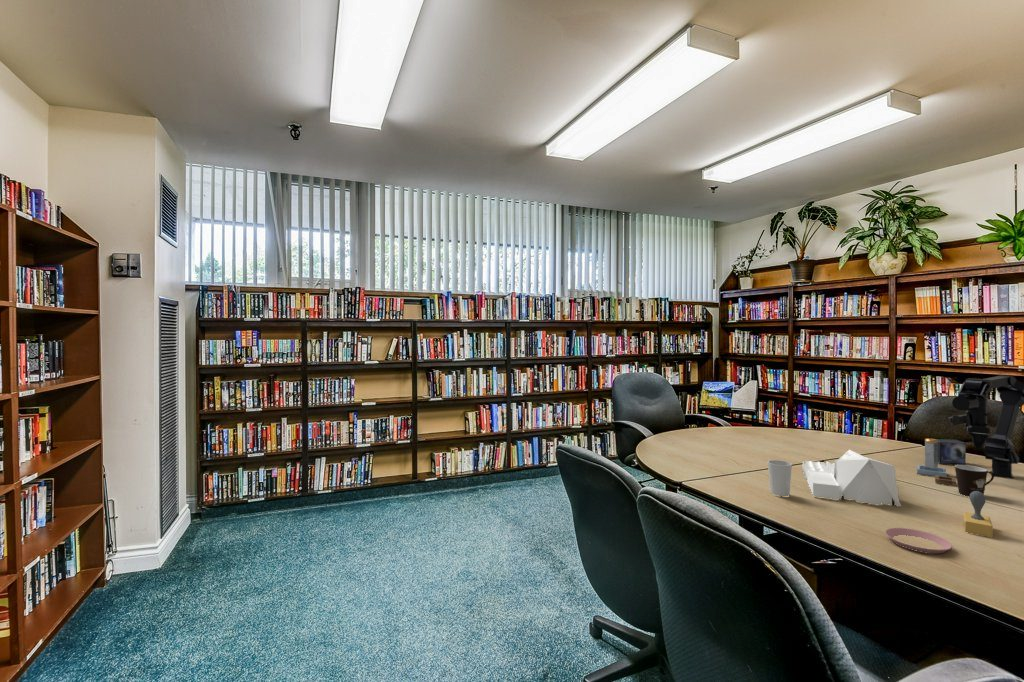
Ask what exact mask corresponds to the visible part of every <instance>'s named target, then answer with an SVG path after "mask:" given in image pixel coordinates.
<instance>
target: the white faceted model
mask: <svg viewBox="0 0 1024 682" xmlns="http://www.w3.org/2000/svg"><path fill="white" fill-rule="evenodd" d="M804 461H805V462H804ZM802 469H803V470H802V471H803V472H802V471H801V472H802V473H803V474H804V475H806V476H804V479H805V478H806V479H805V480H807V481H806V482H808V483H807V485H808V484H809V485H808V487H810V488H809V490H810V489H811V491H810V493H811V492H812V493H811V495H812V494H813V496H816V497H824V498H832V499H840V498H842V499H844V498H845V499H852V500H856V501H857V502H864V503H871V504H878V505H877V506H879V505H883V504H890V505H889V506H891V505H892V506H893V502H894V506H895V505H898V506H897V507H899V506H901V507H902V505H901V502H900V499H899V493H898V491H899V490H898V483H897V475H896V467H895V465H894V464H891V463H887V462H883V461H880V460H877V459H874V458H870V457H866V456H863V455H861V454H859V453H858V452H855V451H853V450H851V449H848V450H847V451H846V452H845V453H843V454H842V455H841V457H839V458H838V459H834V462H828V461H823V462H820V461H819V460H818V461H811V459H810V460H809V461H808V460H802ZM842 495H843V497H844V498H843V497H842ZM813 496H812V497H813ZM892 499H893V500H892ZM840 500H841V499H840ZM881 503H882V504H881ZM871 504H870V505H871Z"/></svg>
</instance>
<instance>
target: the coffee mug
mask: <svg viewBox="0 0 1024 682" xmlns="http://www.w3.org/2000/svg"><path fill="white" fill-rule="evenodd" d="M954 469H955V478H956V484H957V490H958V494H959V493H960V495H961V494H962V495H961V496H964V495H965V497H968V496H969V497H968V498H970V494H971V493H972V492H973V491H979V492H981V493H983V494H984V495H985V490H986V486H987V485H989V484H990V483H991V482H993V480H994V478H995V476H994V475H993V473H992V472H990V470H989V471H988V469H986V468H985V467H981V466H975V465H969V464H967V465H954ZM988 474H990V476H991V477H990V479H989V480H988V481H987V477H988Z"/></svg>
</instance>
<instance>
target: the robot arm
mask: <svg viewBox="0 0 1024 682" xmlns="http://www.w3.org/2000/svg"><path fill="white" fill-rule="evenodd" d="M993 389H996V391H997V392H998V393H999V396H998V397H999V399H1000V401H1001V402H1002V407H1001V410H1000V414H999V416H998V421H997V423H996V428H995V431H994V434H993V435H992V436H990V434H991V428H989V426H988V399H990V396H989V395H988V394H989V393H991V392H992V391H993ZM957 393H958V394H957V396H956V397H954V398H953V399H952V401H951V404H952V406H953V408H954V409H956V410H958V411H965V413H964V414H959V415H958V414H956V415H952V416H949V417H947V419H948V421H949V423H950V425H951V426H953V427H954V426H957V425H963V424H964V427H965V429H966V431H967V434H969V435H970V436H971V439H972V443H973V446H974V448H975V450H976V451H977V450H978V451H979V450H981V448H983V451H982V452H983V454H984V458H985V459H986V460H991V470H989V472H992V473H993V475H994V477H999V478H1001V477H1002V478H1007V477H1010V478H1009V479H1015V476H1014V474H1013V465H1015V464H1016V465H1018V464H1019V461H1020V456H1019V455H1018V454H1017V452H1016V451H1015V445H1014V443H1013V442H1012V436H1013V433H1014V429H1015V425H1016V423H1017V417H1018V415H1019V410H1020V408H1021V407H1023V406H1024V383H1023V382H1021V381H1019V380H1018V379H1017V378H1016V377H1015V376H1012V375H1002V374H1000V375H997V376H992V377H987V378H982V379H981V378H971V377H970V378H969V377H968V378H966V379H965V380H964V381H963V383H962V384H961V387H960V389H959V391H958V392H957ZM1012 464H1013V465H1012Z"/></svg>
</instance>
